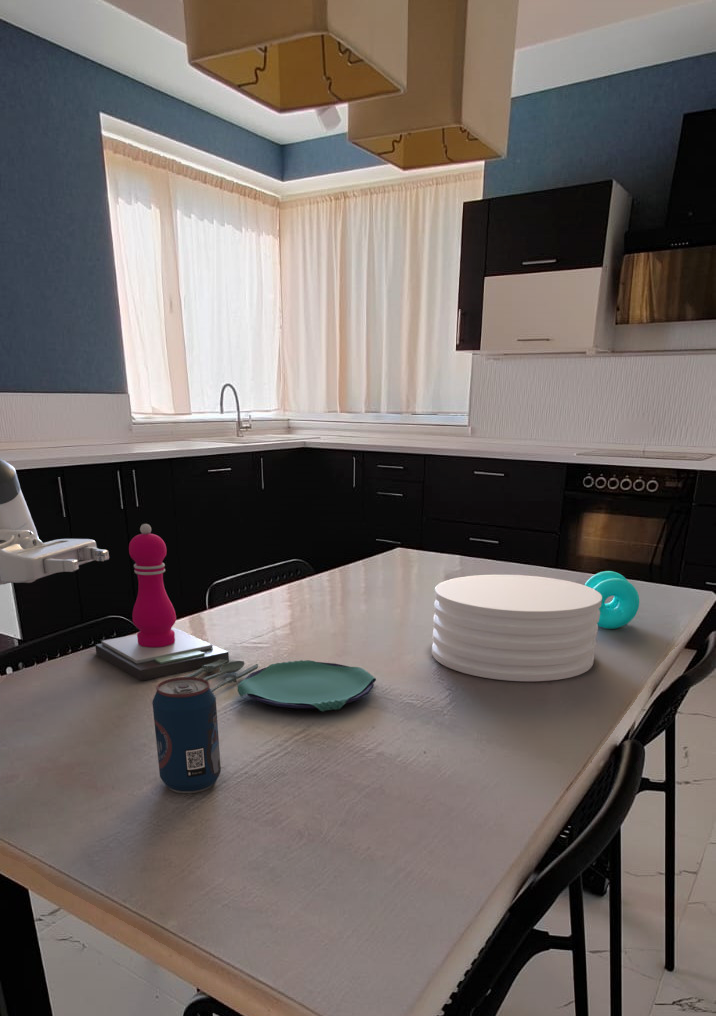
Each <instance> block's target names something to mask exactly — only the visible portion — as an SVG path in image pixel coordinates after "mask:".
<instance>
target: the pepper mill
mask: <svg viewBox="0 0 716 1016" xmlns="http://www.w3.org/2000/svg"><path fill="white" fill-rule="evenodd" d="M139 531H140V532H141V533H140V534H137V535H135V536H134V537H133V538H131V540H130V542H129V544H128V553H129V556H130V558H131V560H133V561H134V562H135V563H134V564H133V568H134V574H136V576H137V581H138V582H137V583H138V590H137V596H136V600H135V602H134V605H133V609H132V623H133V625H134V626H135V627H136V628H137V629H138V630H139V631H138V632H137V633H136V635H137V638H138V644H139V645H141V646H144V647H164V646H168V645H171V644H173V643H174V642H175V633H174V631H173V630H171V628H173V626H174V625H175V624H176V621H177V615H176V610H175V608H174V605H173V603H172V602H171V600H170V598H169V596H168V594H167V591H166V589H165V583H164V573H165V572H166V568H165V567H166V564H165V563H164V562H163V561H164V559H165V557H166V556H167V546H166V543H165V541H164V540H163V539H162V537H161V536H159V535H157V534H154V533H151V532H152V527H151V525H150V524H148V523H142V524H141V526H140V528H139Z"/></svg>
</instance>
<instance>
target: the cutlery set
mask: <svg viewBox="0 0 716 1016" xmlns="http://www.w3.org/2000/svg"><path fill="white" fill-rule="evenodd" d="M227 661H228V660H226V661H225V660H224V659H223V660H222V661H221V659H220V660H218V661H216V662H213V663H209V664H207V665H202V668H199V669H196V670H195V671H194V672H192V673H189V674H187V675H184V677H196V678H198V676H200V675H201V674H202V673H204V672H205V673H210V672H213V671H215V670H216V669H218V668H219V670H220V672H217V673H214V674H211V675H208V676H205V677H203V678H202V679H204V680H206V681H208V682H209V681H210V680H212V679H216V678H217V677H219V676H222V675H225V674H229V677H226V678H225V679H224V681H223V682H221V683H219V684H218V685H216V686H215V687H212V688H210V689H211V691H212V692H213V693H214V691H216V690H218V689H219V688H221V687H223V686H225V685H227V684H232V683H237V681H238V680H237V679H240V678H243V677H244V676H246V677H245V678H244V679H243V680H241V681H240V682H239V683H238V685H237V693H238V695H239V696H240V698H241V699H242V700H243V701H245V700H244V698H243V697H244V696H245V695H247V696H248V697H250V698H252V699H253V700H255V701H258V702H260V703H263V704H267V705H271V706H275V707H282V708H290V709H318V710H319V711H320V712H325V711H332V710H335V711H337V710H340V709H342V708H343V706H344V705H346V704H348V703H353V702H355V701H358V700H360V699H362V698H363V697H365V696H367V695H368V694H370V692H371V691H372V689H373V688H374V683H375V682H376V681H377V679H376V677H374V675H373V674H371V673H370V672H368V671H367V670H366V669H364V668H362V667H359V666H349V665H344V664H339V663H334V662H322V661H315V660H309V659H308V660H307V659H305V660H303V659H301V660H294V661H283V662H276V663H272V664H269V665H268V666H267V667H263V668H260V669H258V668H259V664H258V663H255V664H254V665H251V666H249V667H248V668H246V669H245V670H243V671H241V672H239V671H240V670H241V669H242V668H244V666H245V664H246V663H245V661H244V660H234V661H229V662H227ZM257 669H258V670H257ZM237 672H239V673H237ZM233 673H237V674H235V675H234V674H233Z"/></svg>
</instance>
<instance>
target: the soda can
mask: <svg viewBox="0 0 716 1016" xmlns="http://www.w3.org/2000/svg"><path fill="white" fill-rule="evenodd" d="M211 689H212V688H211V687H210V682H209V681H206V680H204V679H203V678H201V677H185V676H179V677H173V678H169V679H165V680H162V681H161V682H159V683H157V685H156V691H155V694H154V696H153V699H152V712H153V722H154V723H153V724H154V731H155V732H154V733H155V743H156V751H157V762H158V771H159V772H158V773H159V777H160V779H161V781H162V782H163V784H164V785H165V786H166V787H167V788H168V790H170V791H172V792H174V793H179V794H195V793H201V792H205V791H207V790H209V789H211V788H212V787H213V786H214V785H215V784H216V782H217V780H218V778H219V777H220V774H221V771H222V767H221V751H220V739H219V724H218V709H217V697H216V695H215V694H214V691H213V692H212V691H211Z"/></svg>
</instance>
